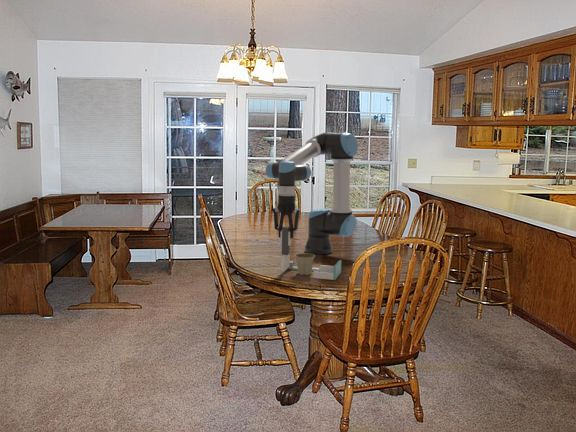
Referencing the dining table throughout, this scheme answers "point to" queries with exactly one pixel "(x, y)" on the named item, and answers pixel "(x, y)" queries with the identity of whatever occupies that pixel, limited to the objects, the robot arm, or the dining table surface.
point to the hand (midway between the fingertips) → (285, 244)
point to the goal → (328, 271)
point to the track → (297, 269)
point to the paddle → (285, 250)
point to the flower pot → (304, 263)
